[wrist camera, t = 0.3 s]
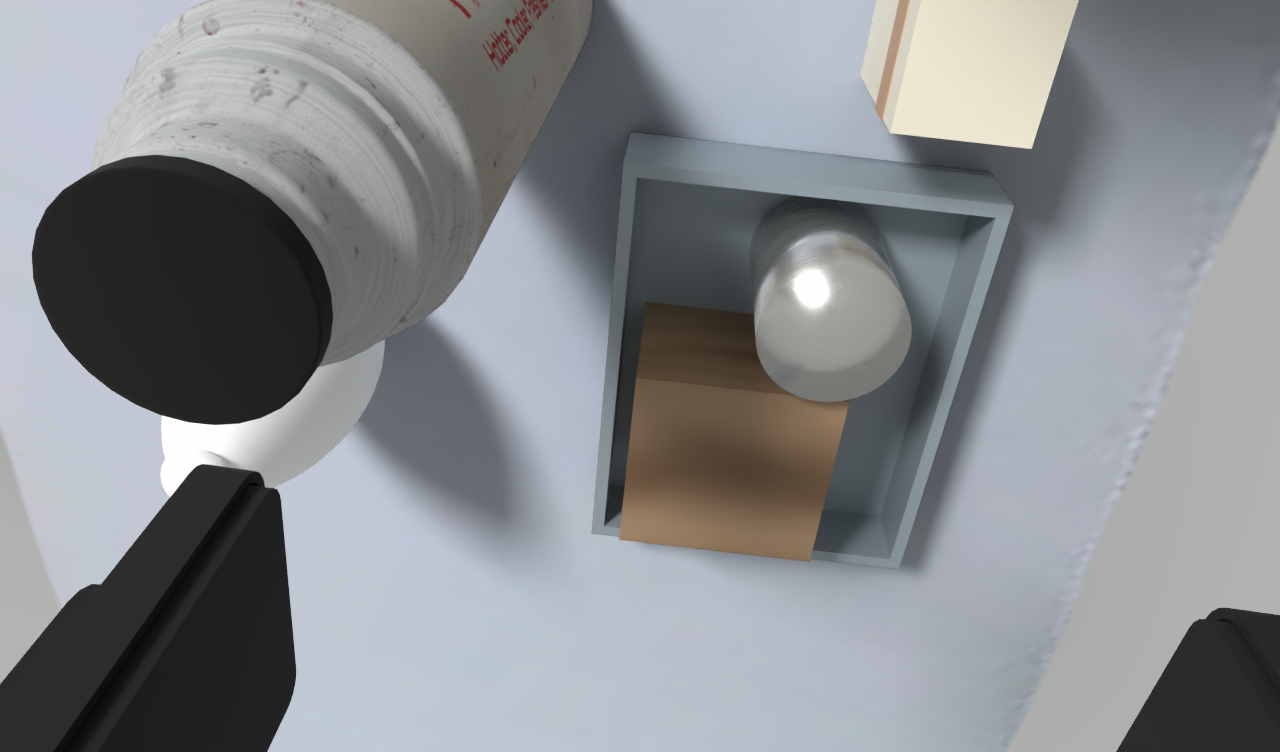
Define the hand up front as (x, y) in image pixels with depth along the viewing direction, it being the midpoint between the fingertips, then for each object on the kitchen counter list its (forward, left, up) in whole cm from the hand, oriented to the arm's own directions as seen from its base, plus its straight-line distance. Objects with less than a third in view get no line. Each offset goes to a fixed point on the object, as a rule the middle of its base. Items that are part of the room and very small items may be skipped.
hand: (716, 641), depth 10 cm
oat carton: (0, +9, -35) cm, 36 cm away
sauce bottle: (+16, -17, -35) cm, 42 cm away
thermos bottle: (+1, -9, -35) cm, 36 cm away
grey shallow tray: (+16, +5, -35) cm, 38 cm away
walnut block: (+18, +3, -34) cm, 38 cm away
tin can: (+10, +6, -34) cm, 36 cm away
